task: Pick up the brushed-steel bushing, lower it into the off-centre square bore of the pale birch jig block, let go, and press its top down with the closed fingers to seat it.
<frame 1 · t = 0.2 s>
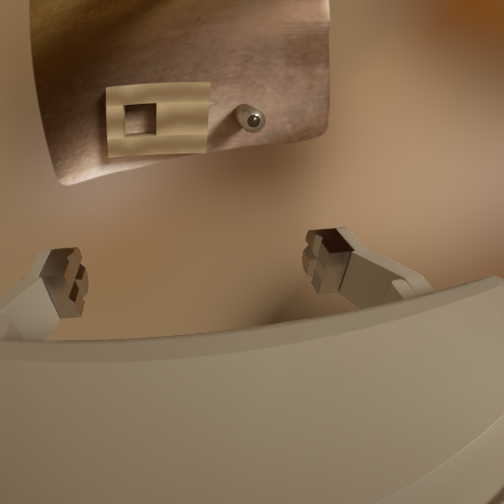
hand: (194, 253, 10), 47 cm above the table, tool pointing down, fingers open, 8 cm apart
jig: (157, 116, 48), on the table
bushing: (243, 113, 51), on the table
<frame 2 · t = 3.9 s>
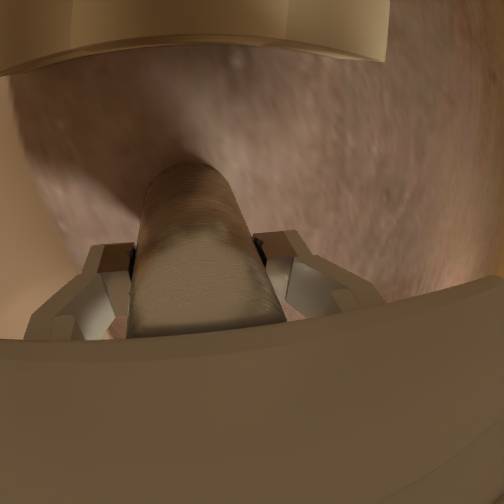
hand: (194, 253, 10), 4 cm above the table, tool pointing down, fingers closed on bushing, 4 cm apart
bushing: (189, 205, 13), on the table, touching gripper
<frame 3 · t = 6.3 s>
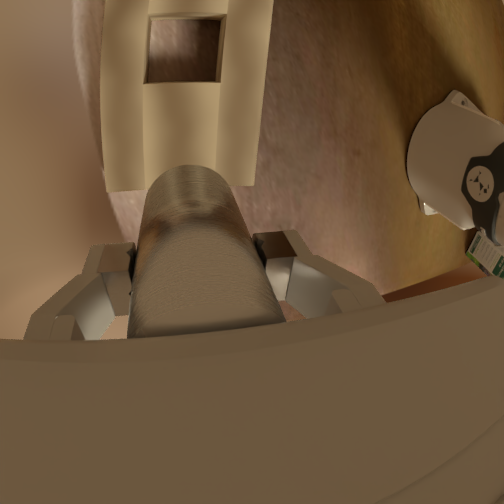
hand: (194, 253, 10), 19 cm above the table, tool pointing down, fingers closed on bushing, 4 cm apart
syrup box: (476, 242, 47), on the table
jig: (181, 81, 22), on the table
bushing: (189, 207, 13), point 15 cm above the table, touching gripper
when the fingers open (5 cm above the table, at t = 9.1 s): bushing drops 1 cm, resting in jig.
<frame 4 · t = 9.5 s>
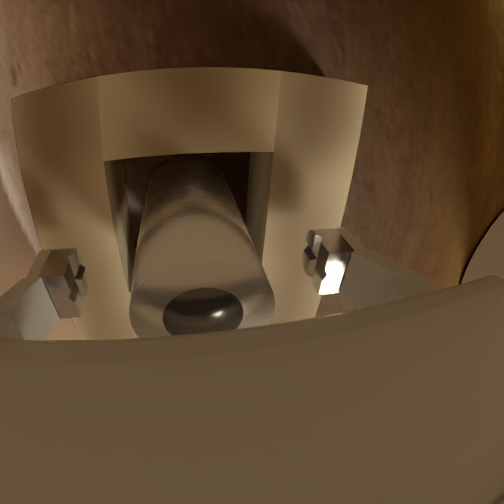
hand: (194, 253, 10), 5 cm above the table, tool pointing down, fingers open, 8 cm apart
jig: (189, 243, 16), on the table
bushing: (187, 193, 14), resting in jig
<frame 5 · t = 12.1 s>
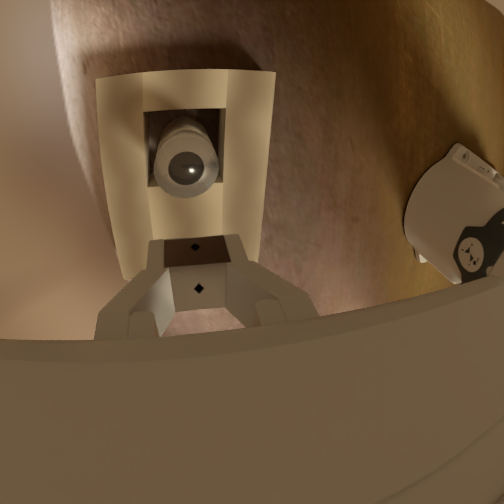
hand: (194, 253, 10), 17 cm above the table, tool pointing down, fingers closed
jig: (184, 169, 25), on the table
bushing: (183, 138, 23), resting in jig
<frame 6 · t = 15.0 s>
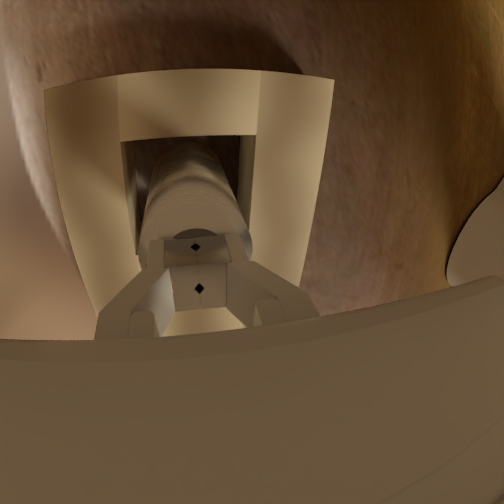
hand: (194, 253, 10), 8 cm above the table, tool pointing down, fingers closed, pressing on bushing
jig: (188, 218, 18), on the table
bushing: (187, 174, 16), resting in jig, touching gripper
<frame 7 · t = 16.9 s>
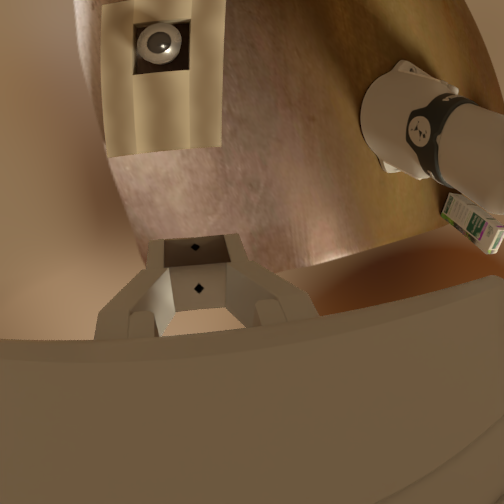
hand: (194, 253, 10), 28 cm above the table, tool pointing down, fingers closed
syrup box: (450, 204, 52), on the table
jig: (162, 72, 28), on the table
bushing: (162, 49, 26), resting in jig
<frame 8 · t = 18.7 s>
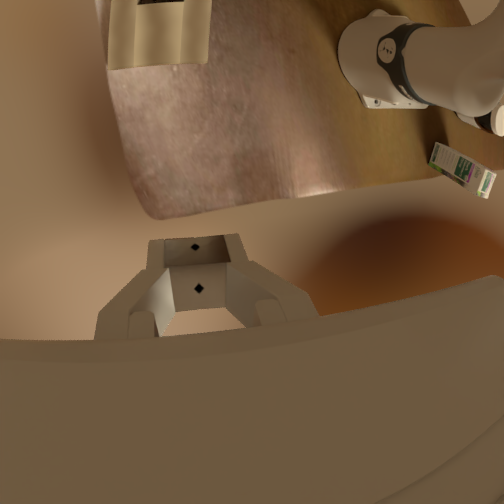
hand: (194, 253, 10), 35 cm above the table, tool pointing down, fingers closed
syrup box: (438, 155, 52), on the table
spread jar: (466, 99, 44), on the table
jig: (161, 8, 28), on the table
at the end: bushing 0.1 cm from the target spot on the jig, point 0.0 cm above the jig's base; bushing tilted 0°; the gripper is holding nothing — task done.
